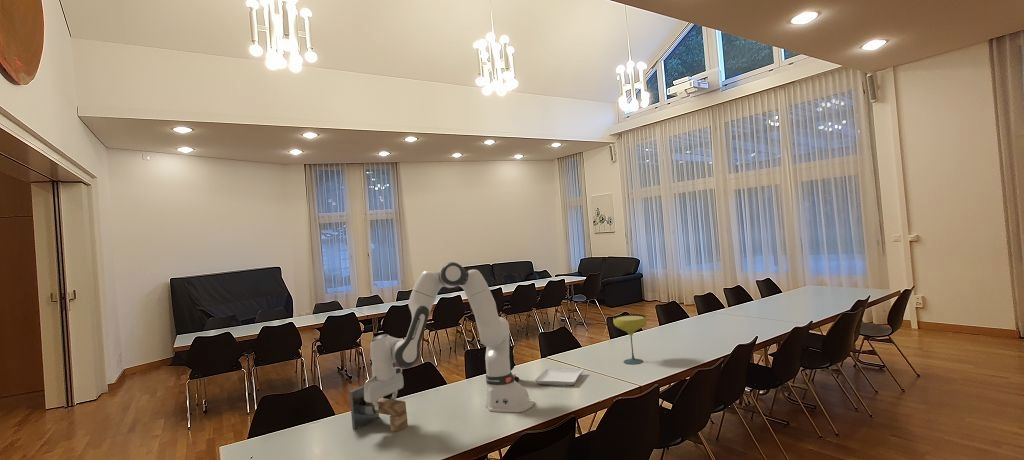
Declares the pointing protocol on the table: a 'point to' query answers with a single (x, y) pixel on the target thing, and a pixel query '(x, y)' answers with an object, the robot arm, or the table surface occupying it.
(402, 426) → the oak post
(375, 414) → the bracket
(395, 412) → the walnut rail
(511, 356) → the microphone
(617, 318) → the cocktail glass
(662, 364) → the table surface
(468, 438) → the table surface
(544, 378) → the salad plate
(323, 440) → the table surface
